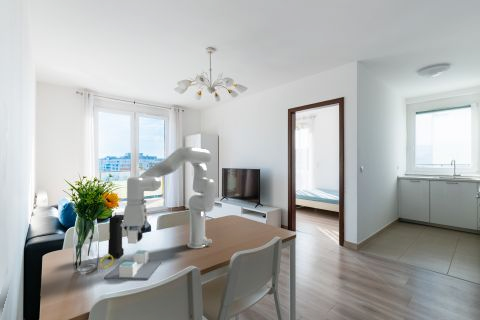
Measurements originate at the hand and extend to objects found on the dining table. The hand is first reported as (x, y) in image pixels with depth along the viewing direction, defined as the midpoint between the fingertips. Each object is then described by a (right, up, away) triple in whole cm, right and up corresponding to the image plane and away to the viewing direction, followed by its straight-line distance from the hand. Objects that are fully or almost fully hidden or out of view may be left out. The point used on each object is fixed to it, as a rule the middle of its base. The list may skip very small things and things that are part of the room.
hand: (134, 239), depth 112 cm
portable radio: (-18, -15, +16) cm, 28 cm away
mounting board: (0, -15, 0) cm, 15 cm away
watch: (-16, -15, +4) cm, 22 cm away
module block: (0, -1, 0) cm, 1 cm away
